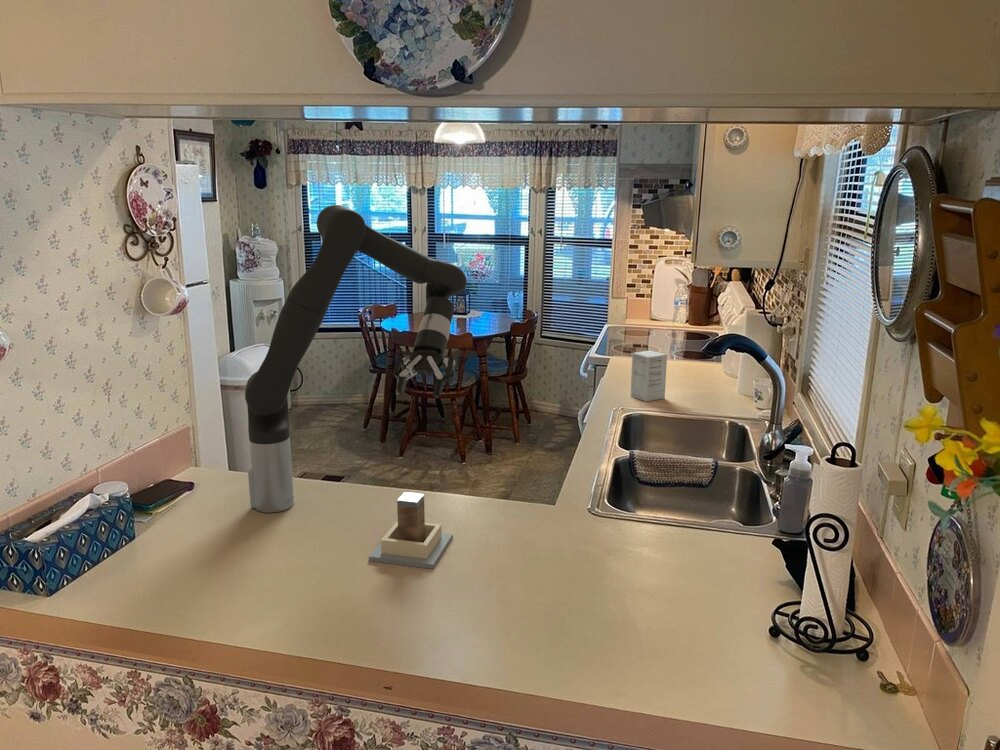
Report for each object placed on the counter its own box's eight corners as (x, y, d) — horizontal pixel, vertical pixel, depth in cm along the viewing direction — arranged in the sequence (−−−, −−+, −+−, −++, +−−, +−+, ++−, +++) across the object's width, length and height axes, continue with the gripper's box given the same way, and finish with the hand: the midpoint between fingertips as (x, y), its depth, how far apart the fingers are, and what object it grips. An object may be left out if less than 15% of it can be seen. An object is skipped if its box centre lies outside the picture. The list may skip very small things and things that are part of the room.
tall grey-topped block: (398, 548, 155) (397, 500, 152) (405, 538, 159) (404, 492, 156) (418, 550, 154) (417, 502, 151) (424, 541, 158) (424, 494, 155)
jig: (368, 560, 152) (368, 543, 151) (393, 531, 165) (392, 514, 164) (433, 569, 149) (432, 551, 148) (452, 538, 162) (452, 521, 161)
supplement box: (665, 398, 272) (668, 354, 268) (646, 402, 267) (649, 357, 263) (648, 392, 280) (650, 349, 276) (629, 395, 275) (631, 352, 271)
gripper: (400, 326, 176) (384, 384, 168) (457, 329, 173) (443, 388, 165) (408, 343, 182) (393, 400, 174) (464, 347, 179) (450, 404, 171)
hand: (418, 394), depth 169 cm, fingers open, 8 cm apart
